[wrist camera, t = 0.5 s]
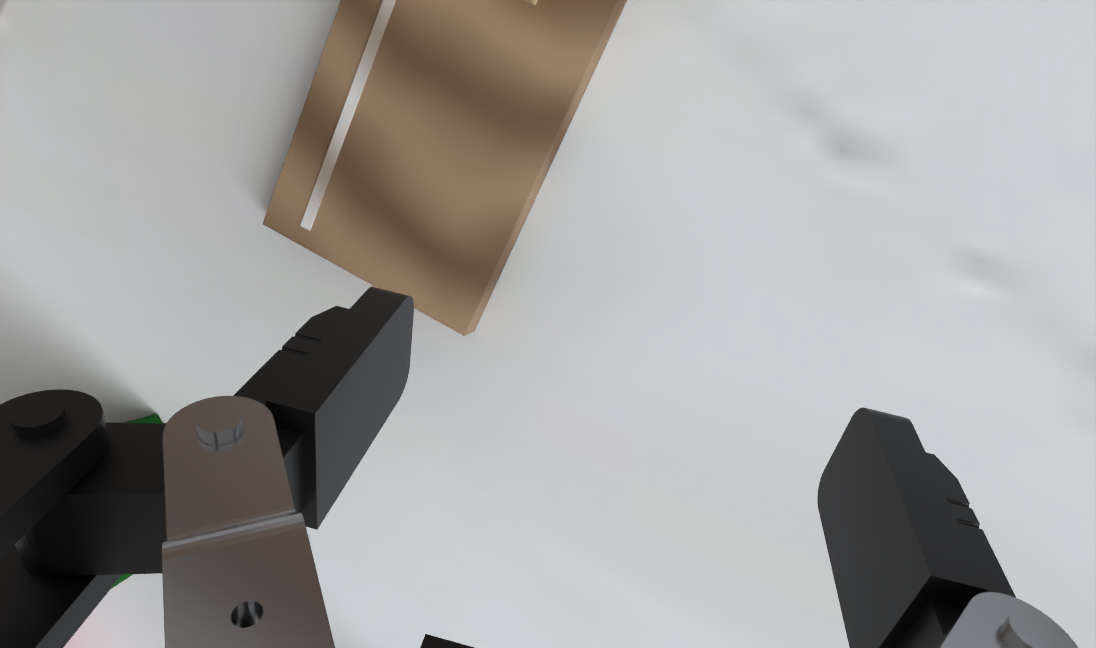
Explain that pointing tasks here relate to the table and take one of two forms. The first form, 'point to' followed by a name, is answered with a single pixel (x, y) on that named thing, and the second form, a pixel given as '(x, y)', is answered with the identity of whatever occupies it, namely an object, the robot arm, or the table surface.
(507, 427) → the table surface
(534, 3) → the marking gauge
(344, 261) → the walnut board
